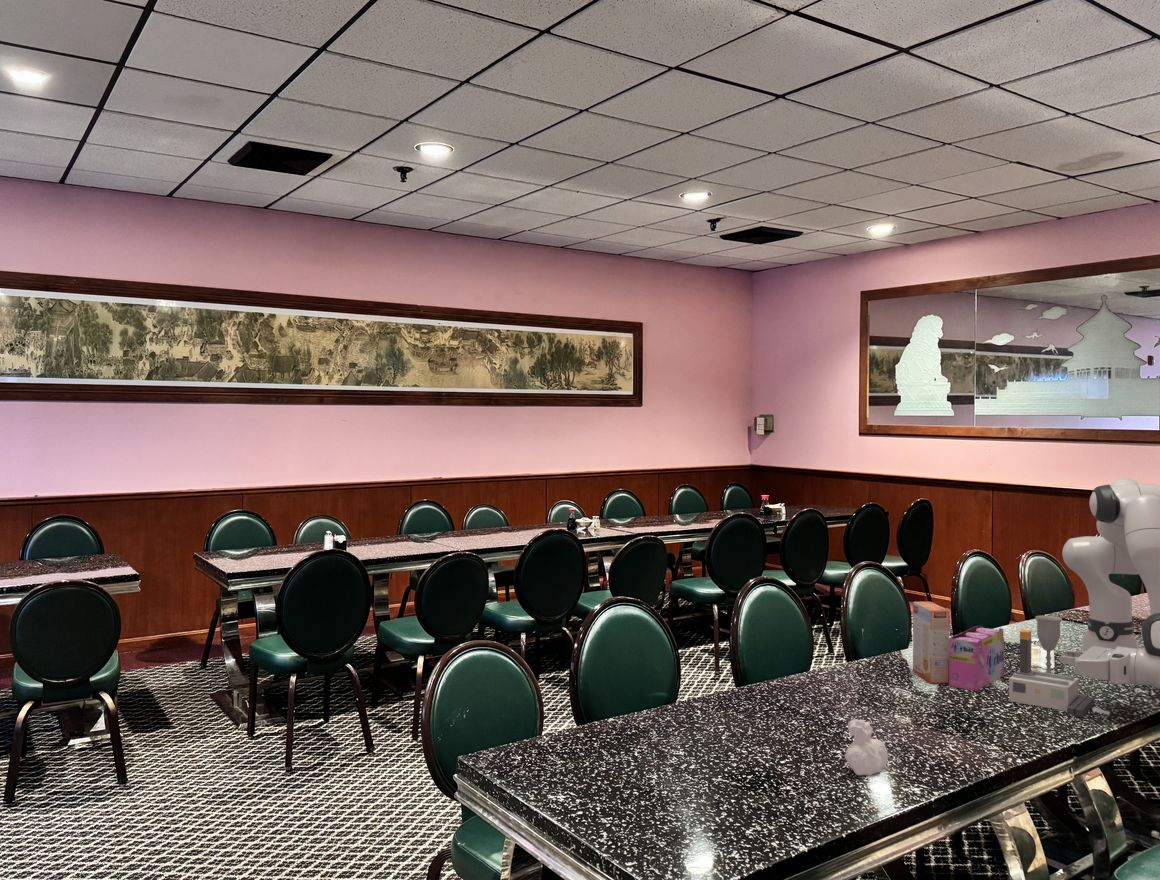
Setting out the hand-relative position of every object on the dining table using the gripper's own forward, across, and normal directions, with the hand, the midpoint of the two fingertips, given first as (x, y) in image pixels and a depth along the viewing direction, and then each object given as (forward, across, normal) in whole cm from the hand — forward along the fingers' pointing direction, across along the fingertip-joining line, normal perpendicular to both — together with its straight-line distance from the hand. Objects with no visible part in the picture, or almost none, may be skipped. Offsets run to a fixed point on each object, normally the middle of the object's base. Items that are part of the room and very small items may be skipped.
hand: (1062, 656), depth 237 cm
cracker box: (+36, -5, +13) cm, 38 cm away
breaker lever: (+9, 0, +6) cm, 11 cm away
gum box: (+24, -10, +13) cm, 29 cm away
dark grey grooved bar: (-4, 0, +12) cm, 13 cm away
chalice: (+9, -22, +13) cm, 27 cm away
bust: (+21, +77, +13) cm, 81 cm away
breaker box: (+5, 0, +12) cm, 13 cm away
